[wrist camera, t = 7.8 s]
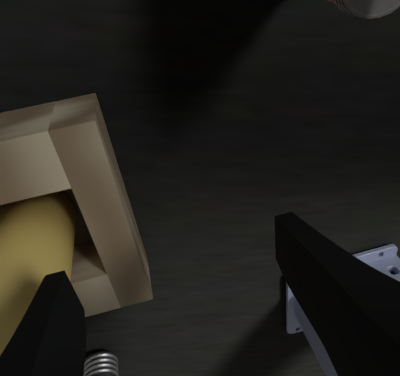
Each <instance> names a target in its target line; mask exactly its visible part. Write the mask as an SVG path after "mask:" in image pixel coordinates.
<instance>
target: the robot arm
mask: <svg viewBox="0 0 400 376" xmlns="http://www.w3.org/2000/svg"><path fill="white" fill-rule="evenodd" d="M275 246H276V260H277V262H278V264H279V267H280V269H281V271H282V274H283V276H284V278H285V280H286V330H287V332H288V333H289V334H293V333H297V332H300V331H303V332H304V334H305V336H306V338H307V340H308V342H309V344H310V346H311V348H312V350H313V352H314V354H315V356H316V357H317V359H318V361H319V363H320V365H321V367H322V369H323V371H324V373H325V375H326V376H400V259H399V257H398V256H397V255H396V254H397V247H396V246H395V245H394V244H389V245H386V246H382V247H379V248H375V249H371V250H368V251H364V252H360V253H357V254H353V255H352V254H350V253H348V252H347V251H345V250H344V249H342V248H341V247H339V246H338V245H336V244H335V243H334V242H332V241H331V240H329V239H328V238H326V237H325V236H323V235H322V234H321V233H319V232H318V231H317V230H315V229H314V228H313V227H311V226H310V225H309V224H307V223H306V222H305V221H303V220H302V219H301V218H299V217H298V216H296V215H295V214H294V213H292V212H290V213H286V214H282V215H278V216H275ZM85 348H86V327H85V311H84V308H83V306H82V304H81V302H80V300H79V298H78V296H77V294H76V292H75V290H74V288H73V286H72V284H71V282H70V280H69V278H68V276H67V274H66V272H65V270H64V271H60V272H56V273H52V274H48V275H45V277H44V278H43V280H42V282H41V284H40V286H39V288H38V290H37V292H36V294H35V296H34V298H33V299H32V301H31V303H30V305H29V307H28V309H27V311H26V313H25V314H24V316H23V318H22V320H21V322H20V323H19V325H18V327H17V329H16V330H15V332H14V334H13V336H12V337H11V339H10V341H9V343H8V344H7V346H6V347H5V349H4V351H3V352H2V354H1V355H0V376H84V363H85Z"/></svg>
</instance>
